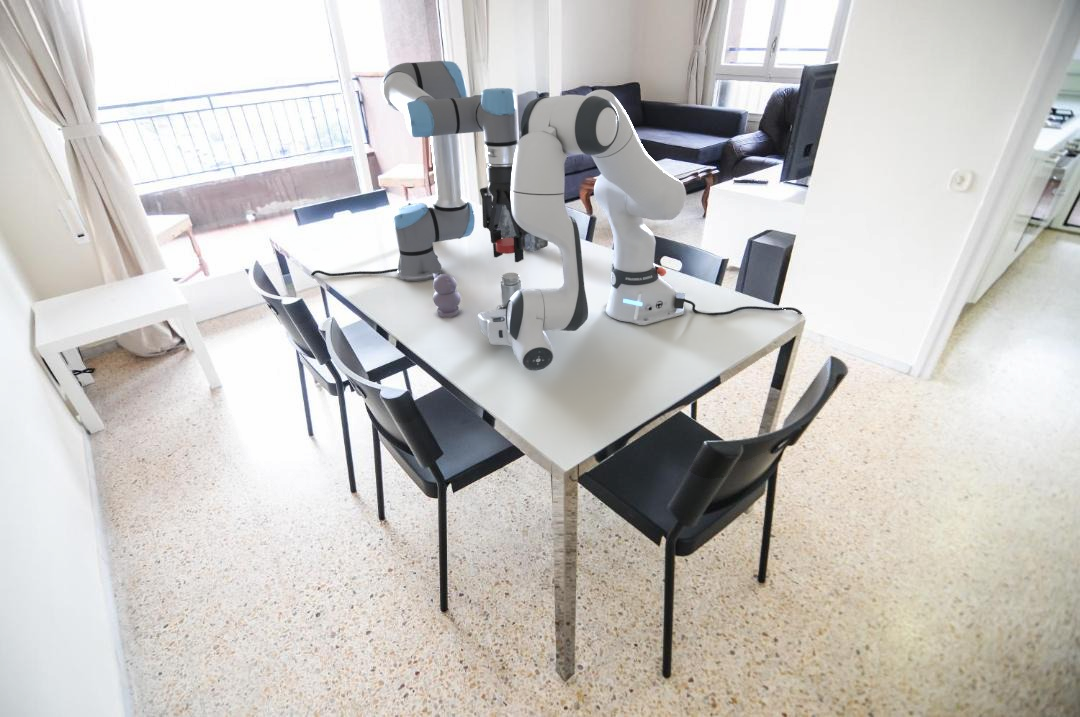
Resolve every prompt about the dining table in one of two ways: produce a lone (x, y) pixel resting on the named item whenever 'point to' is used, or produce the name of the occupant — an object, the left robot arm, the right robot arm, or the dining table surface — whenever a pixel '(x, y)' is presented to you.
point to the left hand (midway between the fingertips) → (508, 257)
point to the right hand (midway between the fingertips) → (511, 305)
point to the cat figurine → (446, 295)
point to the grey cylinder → (509, 286)
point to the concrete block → (508, 232)
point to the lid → (505, 245)
